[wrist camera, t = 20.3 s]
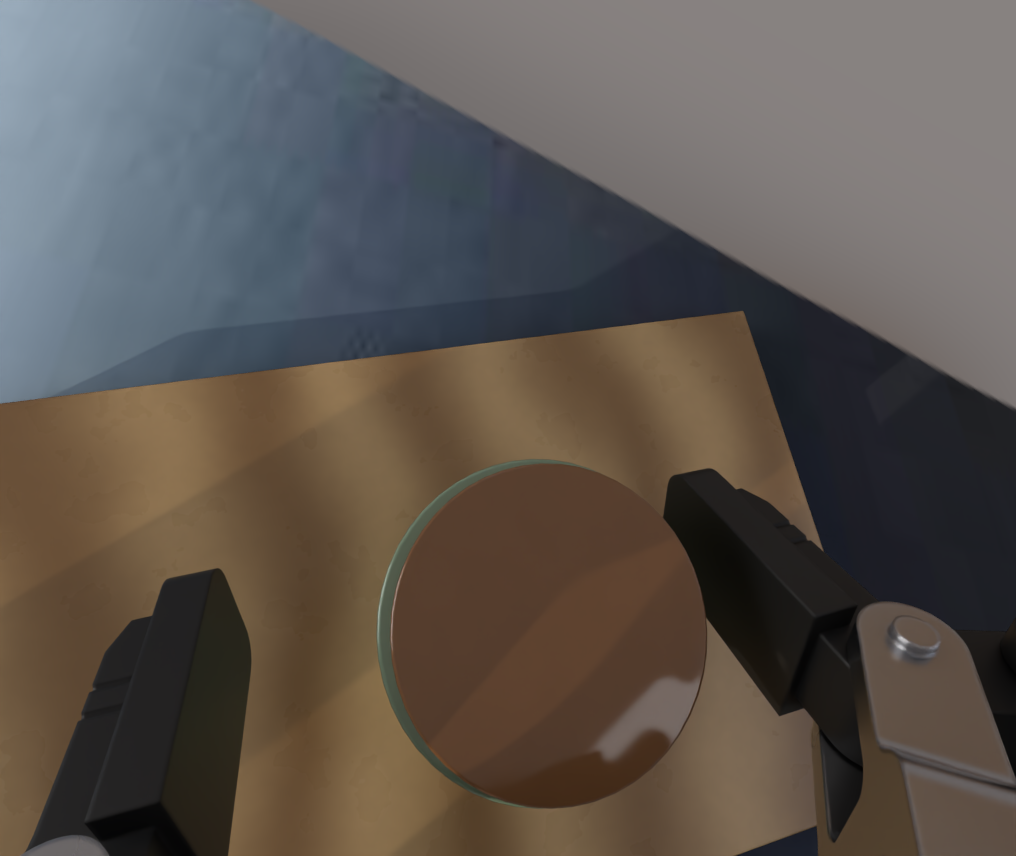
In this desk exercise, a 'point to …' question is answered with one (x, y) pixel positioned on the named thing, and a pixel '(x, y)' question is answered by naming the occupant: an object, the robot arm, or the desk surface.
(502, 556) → the salt pot
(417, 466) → the oak board
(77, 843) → the robot arm
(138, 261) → the desk surface
